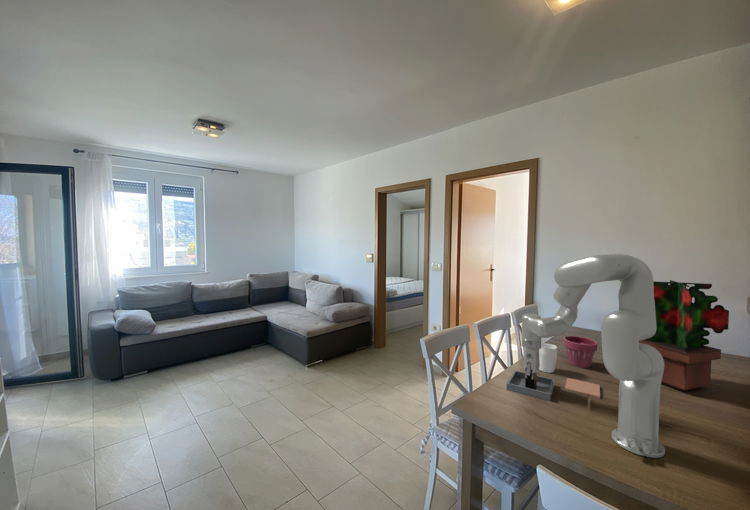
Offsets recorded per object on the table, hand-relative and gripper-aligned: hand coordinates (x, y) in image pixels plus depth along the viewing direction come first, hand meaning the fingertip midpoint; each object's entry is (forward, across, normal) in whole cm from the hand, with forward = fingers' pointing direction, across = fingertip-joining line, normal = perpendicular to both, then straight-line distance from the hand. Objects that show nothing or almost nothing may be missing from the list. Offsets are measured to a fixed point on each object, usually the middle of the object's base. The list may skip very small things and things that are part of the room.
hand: (530, 384), depth 130 cm
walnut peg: (+1, 0, 0) cm, 1 cm away
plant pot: (+2, +43, -16) cm, 46 cm away
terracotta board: (+2, +13, -18) cm, 22 cm away
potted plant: (+2, +42, -51) cm, 66 cm away
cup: (+2, +26, -3) cm, 26 cm away
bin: (+2, 0, 0) cm, 2 cm away
